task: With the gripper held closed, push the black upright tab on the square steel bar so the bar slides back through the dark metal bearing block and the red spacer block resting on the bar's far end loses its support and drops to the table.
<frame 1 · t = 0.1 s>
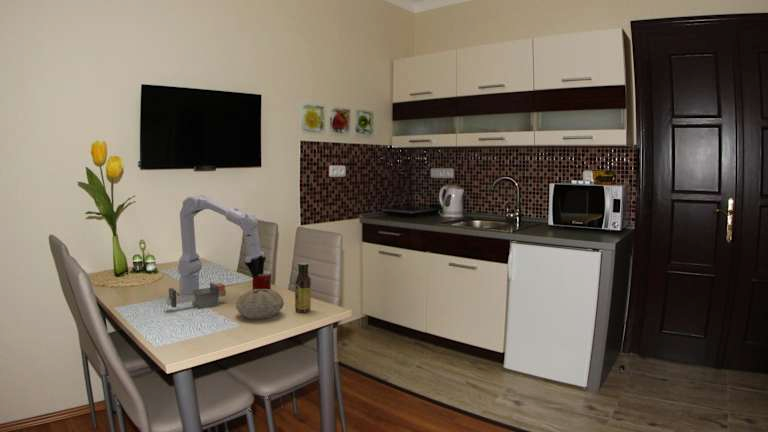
hand: (258, 275, 205), 11 cm above the table, tool pointing down, fingers open, 5 cm apart
spacer: (219, 290, 202), point 5 cm above the table, touching shaft
shaft: (196, 293, 196), point 5 cm above the table, slide at 0.0 cm, touching spacer
decorative shell: (260, 316, 188), on the table
canned food: (261, 297, 213), on the table, touching gripper
bearing block: (205, 304, 199), on the table
sauce bottle: (302, 311, 194), on the table
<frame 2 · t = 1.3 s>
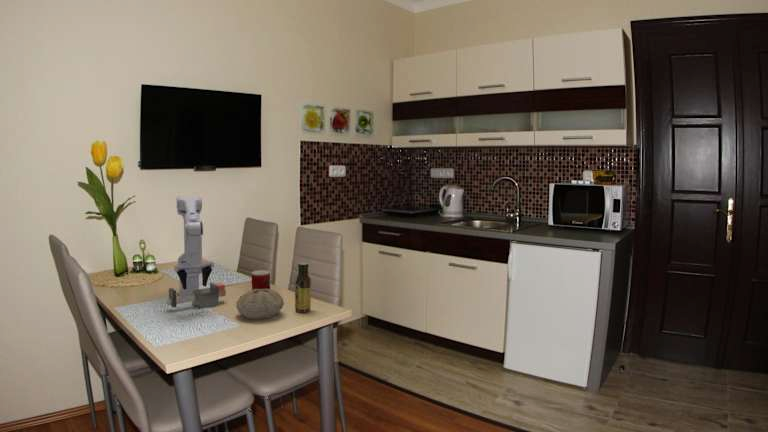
hand: (194, 287, 186), 10 cm above the table, tool pointing down, fingers open, 7 cm apart
canned food: (261, 296, 213), on the table
everything else where it was.
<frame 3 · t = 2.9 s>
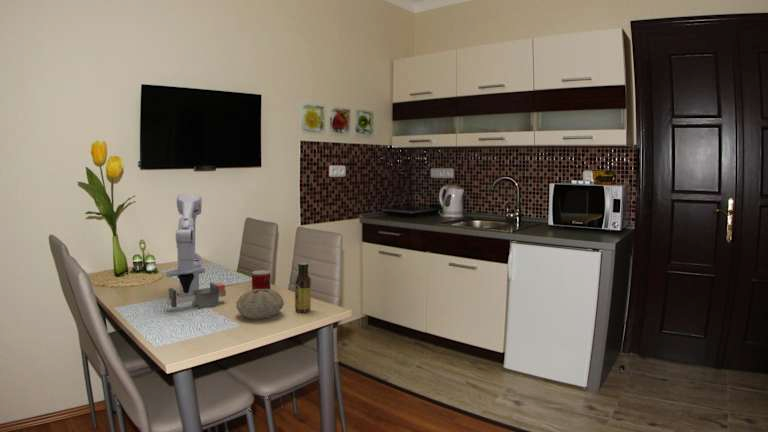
hand: (186, 292, 193), 7 cm above the table, tool pointing down, fingers closed
nothing on the table moved.
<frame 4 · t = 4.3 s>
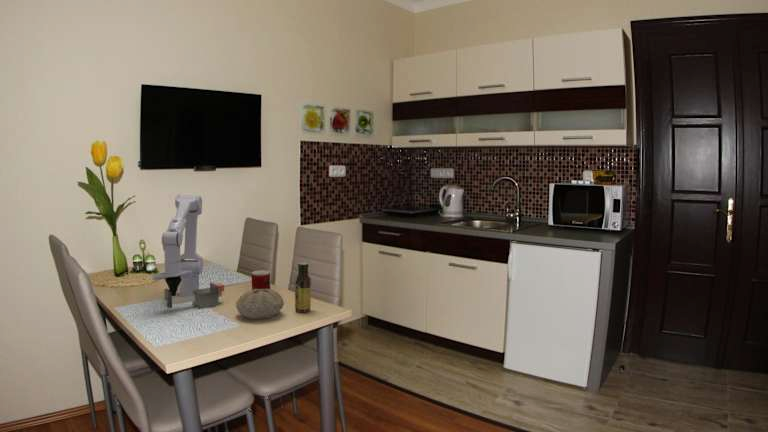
hand: (173, 295, 190), 6 cm above the table, tool pointing down, fingers closed
shaft: (192, 294, 195), point 5 cm above the table, slide at 1.6 cm, touching gripper, spacer
everything else where it was.
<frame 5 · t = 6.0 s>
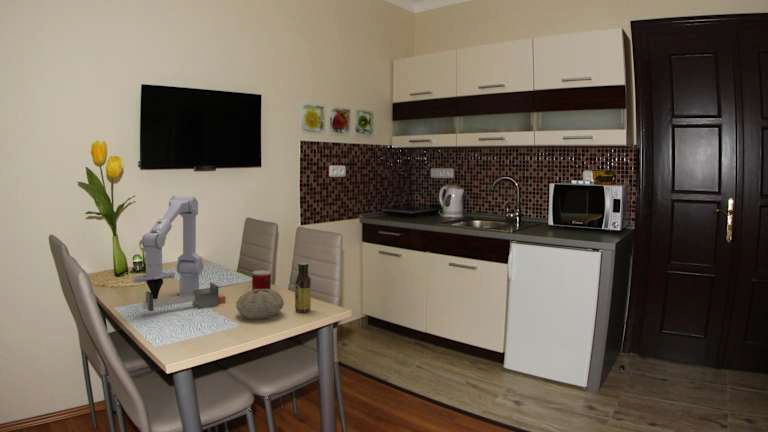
hand: (154, 298, 185), 6 cm above the table, tool pointing down, fingers closed
spacer: (217, 299, 202), point 1 cm above the table, tilted 90°
shaft: (175, 297, 190), point 5 cm above the table, slide at 8.5 cm, touching gripper
everything else where it was.
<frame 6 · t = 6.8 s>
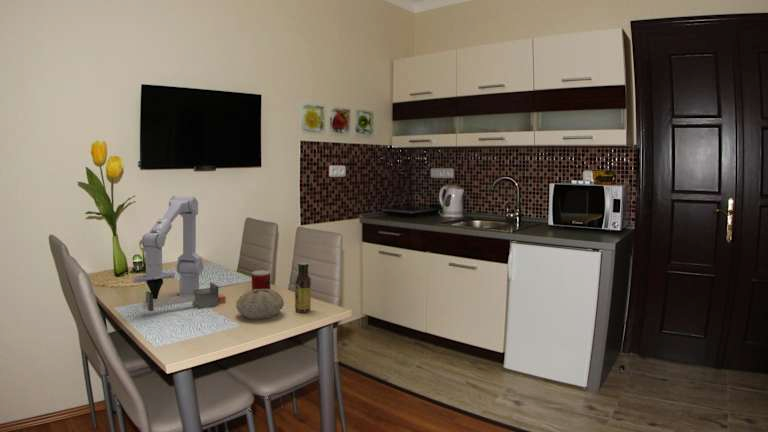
hand: (154, 298, 185), 6 cm above the table, tool pointing down, fingers closed
nothing on the table moved.
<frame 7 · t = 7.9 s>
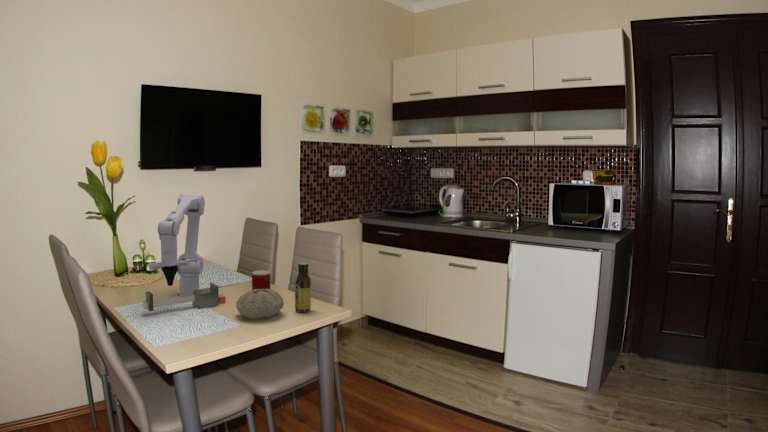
hand: (170, 285, 190), 10 cm above the table, tool pointing down, fingers closed
shaft: (175, 297, 190), point 5 cm above the table, slide at 8.5 cm
everything else where it was.
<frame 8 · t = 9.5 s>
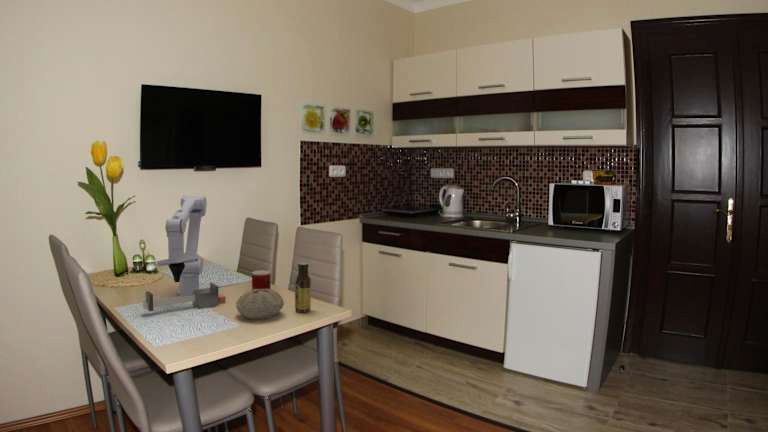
hand: (176, 281, 194), 10 cm above the table, tool pointing down, fingers closed
nothing on the table moved.
at the end: shaft slide at 8.5 cm; spacer touching table; spacer point 1.3 cm above the table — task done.
